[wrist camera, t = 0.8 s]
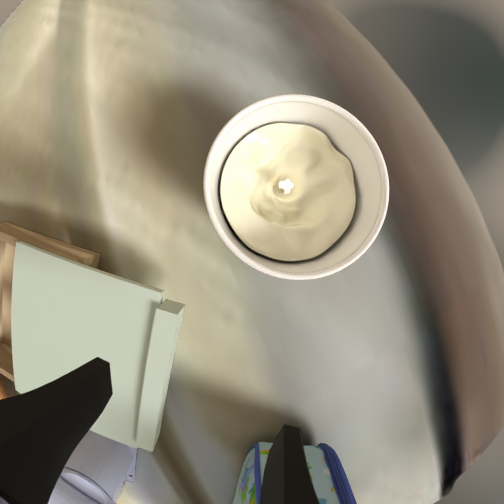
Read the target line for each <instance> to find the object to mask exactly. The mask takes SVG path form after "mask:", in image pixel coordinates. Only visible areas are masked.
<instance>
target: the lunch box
mask: <svg viewBox="0 0 504 504" xmlns="http://www.w3.org/2000/svg"><path fill="white" fill-rule="evenodd" d="M272 445H273V443H268V442H258V443H255V444H254V445H253V446H252V447H251V449H250V451H249V452H248V455H247V457H246V459H245V461H244V463H243V467H242V470H241V473H240V476H239V480H238V484H237V487H236V491H235V495H234V498H233V501H232V504H259V502H260V495H261V488H262V481H263V474H264V469H265V465H266V461H267V457H268V453H269V450H270V448H271V446H272ZM304 451H305V456H306V460H307V464H308V468H309V472H310V476H311V479H312V483H313V486H314V489H315V492H316V495H317V497H318V500H319V503H320V504H357V503H356V500H355V498H354V495H353V492H352V490H351V487H350V484H349V482H348V479H347V476H346V474H345V471H344V469H343V467H342V464H341V462H340V459H339V458H338V456H337V454H336V452H335V451H334V450H333V449H332V448H331V447H330V446H328V445H327V444H325V443H320V444H318V445H317V446H304Z"/></svg>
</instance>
